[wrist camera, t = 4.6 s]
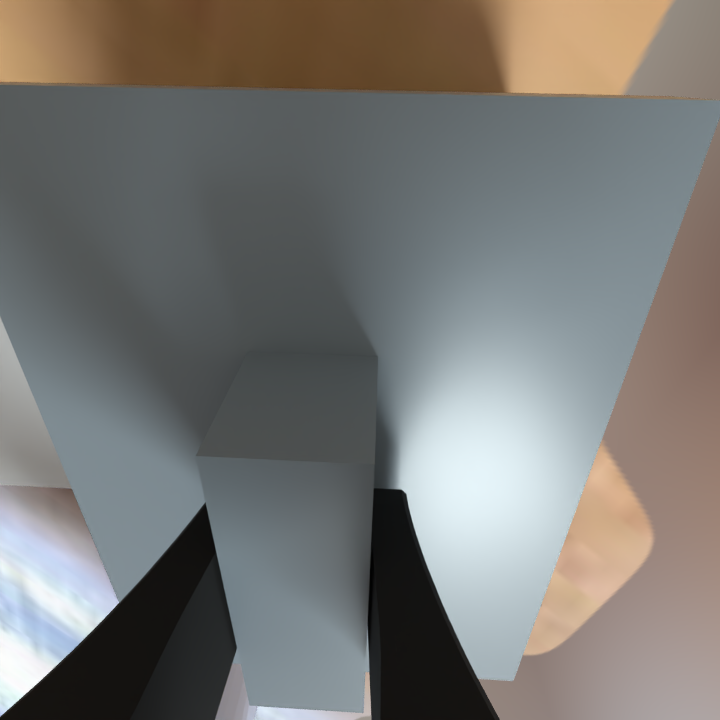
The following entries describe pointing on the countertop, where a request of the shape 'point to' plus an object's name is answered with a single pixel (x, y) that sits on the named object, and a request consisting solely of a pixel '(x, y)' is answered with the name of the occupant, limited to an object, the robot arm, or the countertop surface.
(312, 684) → the lid
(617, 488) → the countertop surface
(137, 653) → the robot arm
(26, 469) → the mat
